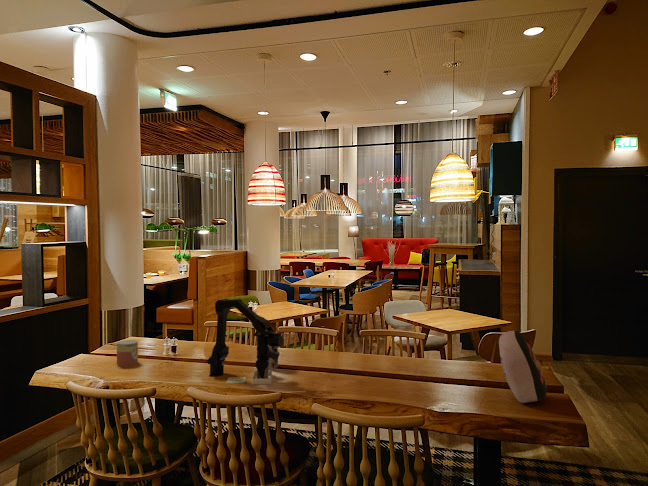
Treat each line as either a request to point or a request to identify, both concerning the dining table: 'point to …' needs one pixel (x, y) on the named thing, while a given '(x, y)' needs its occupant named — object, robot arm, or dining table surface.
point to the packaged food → (521, 368)
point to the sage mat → (236, 380)
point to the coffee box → (272, 362)
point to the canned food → (127, 352)
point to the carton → (262, 381)
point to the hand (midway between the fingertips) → (262, 376)
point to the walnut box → (264, 374)
